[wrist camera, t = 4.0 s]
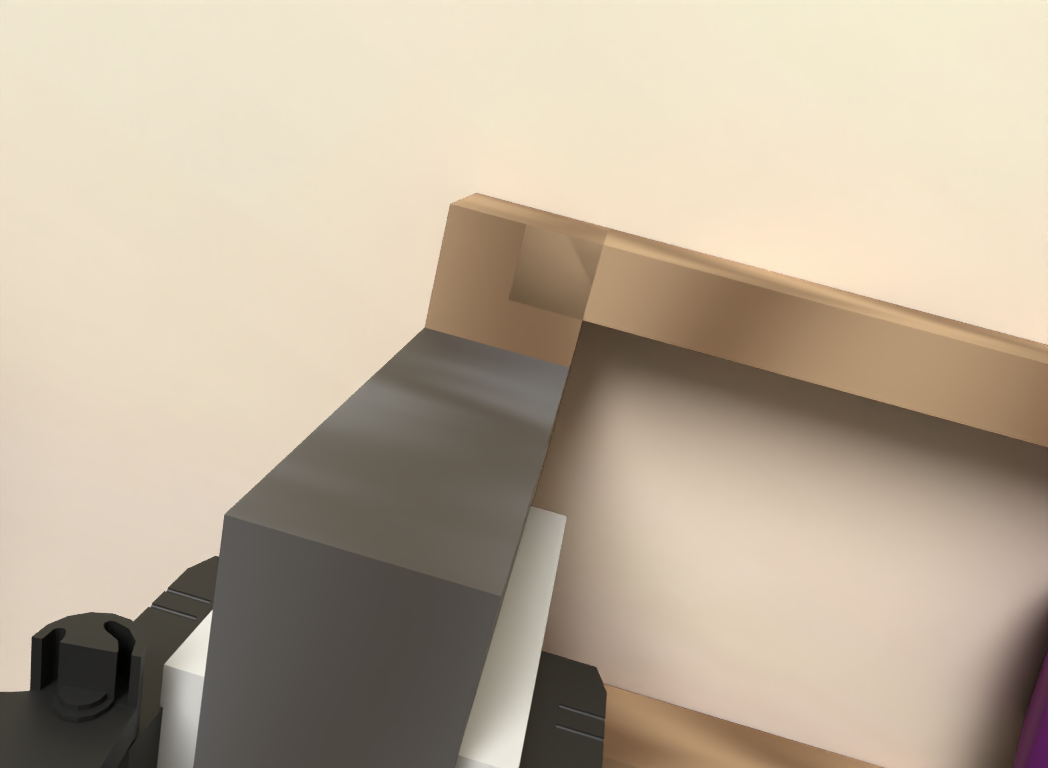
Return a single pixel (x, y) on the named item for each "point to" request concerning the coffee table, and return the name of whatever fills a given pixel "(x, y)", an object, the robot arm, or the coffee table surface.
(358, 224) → the coffee table surface
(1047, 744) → the perfume bottle
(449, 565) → the strip frame
